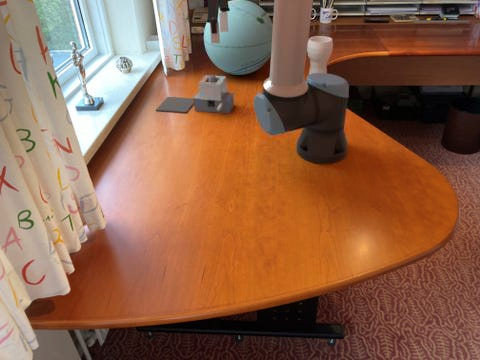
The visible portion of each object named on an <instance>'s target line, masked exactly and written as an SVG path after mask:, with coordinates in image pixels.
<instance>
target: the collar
mask: <svg viewBox="0 0 480 360" xmlns="http://www.w3.org/2000/svg"><path fill="white" fill-rule="evenodd" d="M209 76H211V75H207V74H206V75H204V76H203V77H202V79H201V80H199V82H198V83H197V86H198V92H199V96H200V99H202V100H218V101H221V100H222V99H223V97H224V96H225V94H226V93H228V87H227V76H226V75H225V76H224V75H215V76H216V82H209V80H208V77H209Z"/></svg>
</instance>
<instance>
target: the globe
mask: <svg viewBox="0 0 480 360" xmlns="http://www.w3.org/2000/svg"><path fill="white" fill-rule="evenodd" d="M228 5H229V7H228V8H230V11H226V12H227V14H228V32H220V15H219V12H222V11H220V8H219V12H218V22H219V36H220V43H211V31H210V23H207V22H206V24H205V26H204V31H203V43H204V49H205V52H206V53H207V55H208V58H209V59H210V61H211V62H212V64H214V65H215V66H216V68H218V69H220V70H222V71H223V72H225V73H227V74H229V75H235V76H240V75H243V76H244V75H248V74H251V73H253V72H256V71H258V70H259V69H260V68H262V67H263V66H264V65H265V64H266V63H267V61H269V58H271V47H272V31H273V21H272V20H271V18H270V16H269V15H268V13H267V12H266V11H265V9H263V8H262V7H261V6H259V5H258V4H257V3H254V2H252V1H249V0H229V1H228Z"/></svg>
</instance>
